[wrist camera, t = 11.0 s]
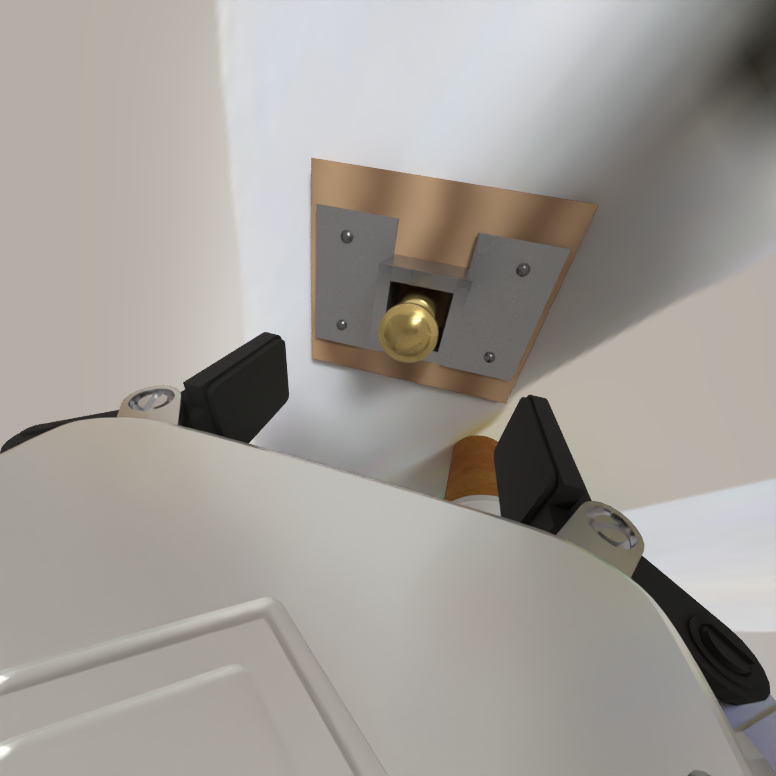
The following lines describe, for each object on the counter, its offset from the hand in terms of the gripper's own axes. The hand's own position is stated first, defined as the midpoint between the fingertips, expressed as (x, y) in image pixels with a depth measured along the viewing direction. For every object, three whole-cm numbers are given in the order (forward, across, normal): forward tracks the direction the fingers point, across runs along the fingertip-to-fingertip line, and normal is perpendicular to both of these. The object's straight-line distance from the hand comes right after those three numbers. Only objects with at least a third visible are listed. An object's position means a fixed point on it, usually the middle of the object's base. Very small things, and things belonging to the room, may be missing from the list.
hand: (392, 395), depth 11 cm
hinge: (+18, +1, +1) cm, 18 cm away
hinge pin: (+18, +1, +1) cm, 18 cm away
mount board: (+19, +1, +1) cm, 19 cm away
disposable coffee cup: (+19, -10, +19) cm, 29 cm away
